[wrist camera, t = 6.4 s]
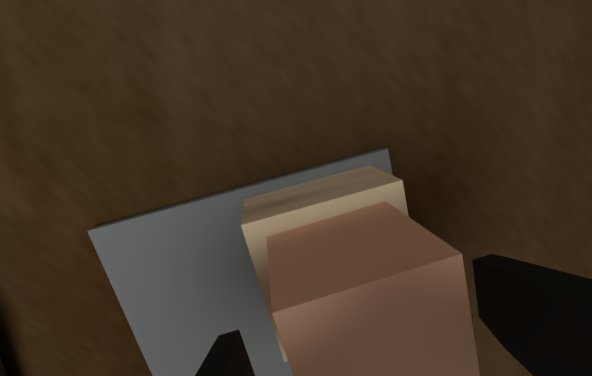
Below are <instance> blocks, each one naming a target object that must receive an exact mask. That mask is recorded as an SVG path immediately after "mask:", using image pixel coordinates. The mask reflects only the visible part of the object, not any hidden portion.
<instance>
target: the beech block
mask: <svg viewBox="0 0 592 376" xmlns="http://www.w3.org/2000/svg"><path fill="white" fill-rule="evenodd" d="M384 201H386V202H388V203H389V204H390V205H392V206H393V207H395V208H396V209H398V210H399V211H401V212H402V213H404V214H405V215H406V216H408V217H409V215H408V210H407V204H406V198H405V192H404V186H403V180H401V179H399V178H397V177H395V176H393V175H391V174H388V173H386V172H384V171H382V170H380V169H378V168H375V167H373V166H371V165H367V166H363V167H360V168H356V169H352V170H349V171H345V172H341V173H338V174H334V175H331V176H327V177H323V178H320V179H316V180H312V181H309V182H305V183H301V184H298V185H294V186H291V187H287V188H283V189H280V190H276V191H272V192H269V193H265V194H262V195H258V196H254V197H251V198H247V199H245V200H244V207H243V214H242V221H241V227H242V230H243V233H244V237H245V240H246V243H247V246H248V249H249V252H250V256H251V259H252V262H253V265H254V268H255V271H256V275H257V278H258V281H259V284H260V287H261V290H262V293H263V297H264V300H265V303H266V306H267V309H268V312H269V316H270V319H271V322H272V325H273V328H274V331H275V335H276V338H277V341H278V344H279V347H280V350H281V353H282V357H283V360H284V362H286V361H288V359H287V356H286V353H285V350H284V347H283V344H282V341H281V338H280V335H279V332H278V329H277V326H276V323H275V320H274V317H273V314H272V305H271V292H270V278H269V265H268V251H267V236H270V235H274V234H277V233H280V232H284V231H287V230H290V229H294V228H297V227H300V226H304V225H307V224H310V223H314V222H317V221H320V220H324V219H327V218H330V217H334V216H337V215H340V214H344V213H347V212H351V211H354V210H357V209H361V208H364V207H367V206H371V205H374V204H377V203H381V202H384Z"/></svg>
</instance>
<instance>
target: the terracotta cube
mask: <svg viewBox="0 0 592 376" xmlns="http://www.w3.org/2000/svg"><path fill="white" fill-rule="evenodd" d="M267 251H268V265H269V278H270V292H271V305H272V314H273V317H274V320H275V323H276V326H277V329H278V332H279V335H280V338H281V341H282V344H283V347H284V350H285V353H286V356H287V359H288V362H289V365H290V368H291V371H292V374H293V376H480V373H479V366H478V359H477V352H476V346H475V339H474V332H473V325H472V318H471V312H470V305H469V298H468V291H467V284H466V278H465V271H464V264H463V257H462V253H460V252H459V251H457V250H456V249H454V248H453V247H451V246H450V245H449V244H447V243H446V242H444V241H443V240H441V239H440V238H438V237H437V236H435V235H434V234H433V233H431V232H430V231H428V230H427V229H425V228H424V227H422V226H421V225H419V224H418V223H417V222H415V221H414V220H412V219H411V218H409V217H408V216H406V215H405V214H404V213H402V212H401V211H399V210H398V209H396V208H395V207H393V206H392V205H390V204H389V203H388V202H386V201H384V202H381V203H377V204H374V205H371V206H367V207H364V208H361V209H357V210H354V211H351V212H347V213H344V214H340V215H337V216H334V217H330V218H327V219H324V220H320V221H317V222H314V223H310V224H307V225H304V226H300V227H297V228H294V229H290V230H287V231H284V232H280V233H277V234H274V235H270V236H267Z"/></svg>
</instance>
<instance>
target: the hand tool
mask: <svg viewBox="0 0 592 376" xmlns="http://www.w3.org/2000/svg"><path fill="white" fill-rule="evenodd" d="M0 376H7V375H6V372H5V369H4V366H3V363H2V360H1V357H0Z"/></svg>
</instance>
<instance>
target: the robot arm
mask: <svg viewBox="0 0 592 376" xmlns="http://www.w3.org/2000/svg"><path fill="white" fill-rule="evenodd" d="M472 261H473V270H474V278H475V286H476V295H477V303H478V311H479V318H480V319H481V320H482V321H483V322H484V324H485V325H486V326H487V327H488V329H489V330H490V331H491V332H492V334H493V335H494V336H495V337H496V338H497V340H498V341H499V342H500V343H501V344H502V345H503V347H504V348H505V349H506V350H507V351H508V352H509V353H510V354H511V355H512V356H513V357H514V358H515V359H517V360H518V361H519V362H520V363H521V364H522V365H523V366H524V367H525V368H526V369H527V370H528V371H529V372H530V373H531V374H532V375H533V376H592V279H588V278H584V277H580V276H577V275H573V274H569V273H565V272H561V271H557V270H554V269H550V268H546V267H542V266H539V265H535V264H531V263H527V262H523V261H519V260H515V259H512V258H507V257H503V256H498V255H493V254H490V255H487V256H484V257H480V258H477V259H474V260H472ZM195 376H255V374H254V371H253V368H252V365H251V362H250V359H249V356H248V354H247V351H246V348H245V345H244V342H243V339H242V336H241V334H240V331H239V329H238V330H235V331H232V332H228V333H225V334H222V335H218V337H217V339H216V340H215V342H214V344H213V345H212V347H211V349H210V351H209V352H208V354H207V356H206V357H205V359H204V361H203V363H202V364H201V366H200V368H199V370H198V371H197V373H196V375H195Z"/></svg>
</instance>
